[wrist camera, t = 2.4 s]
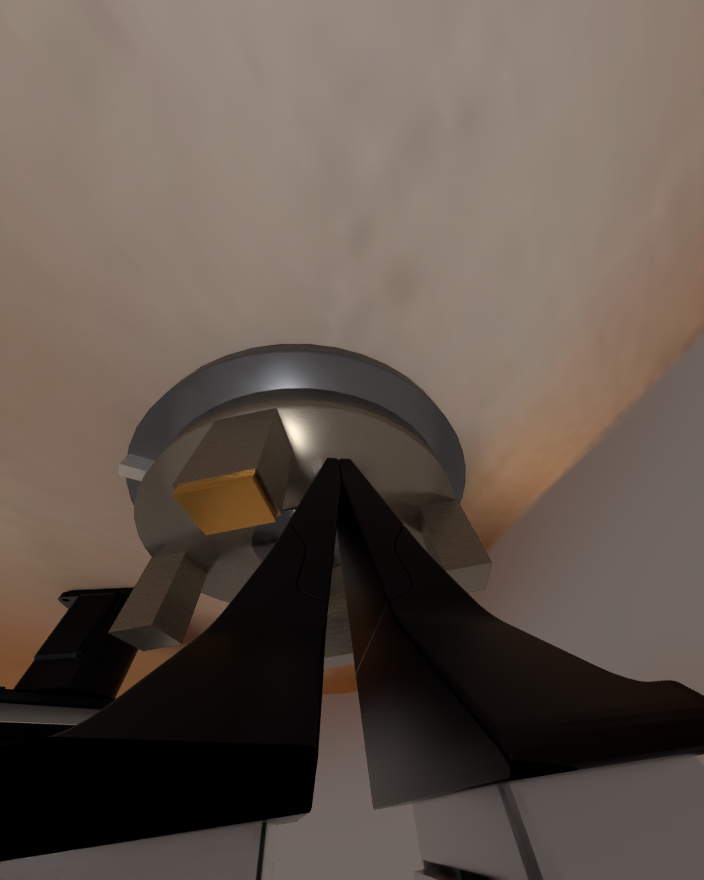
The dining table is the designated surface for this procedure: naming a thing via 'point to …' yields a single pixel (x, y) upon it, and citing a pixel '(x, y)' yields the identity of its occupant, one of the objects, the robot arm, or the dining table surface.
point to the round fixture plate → (278, 504)
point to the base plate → (291, 371)
